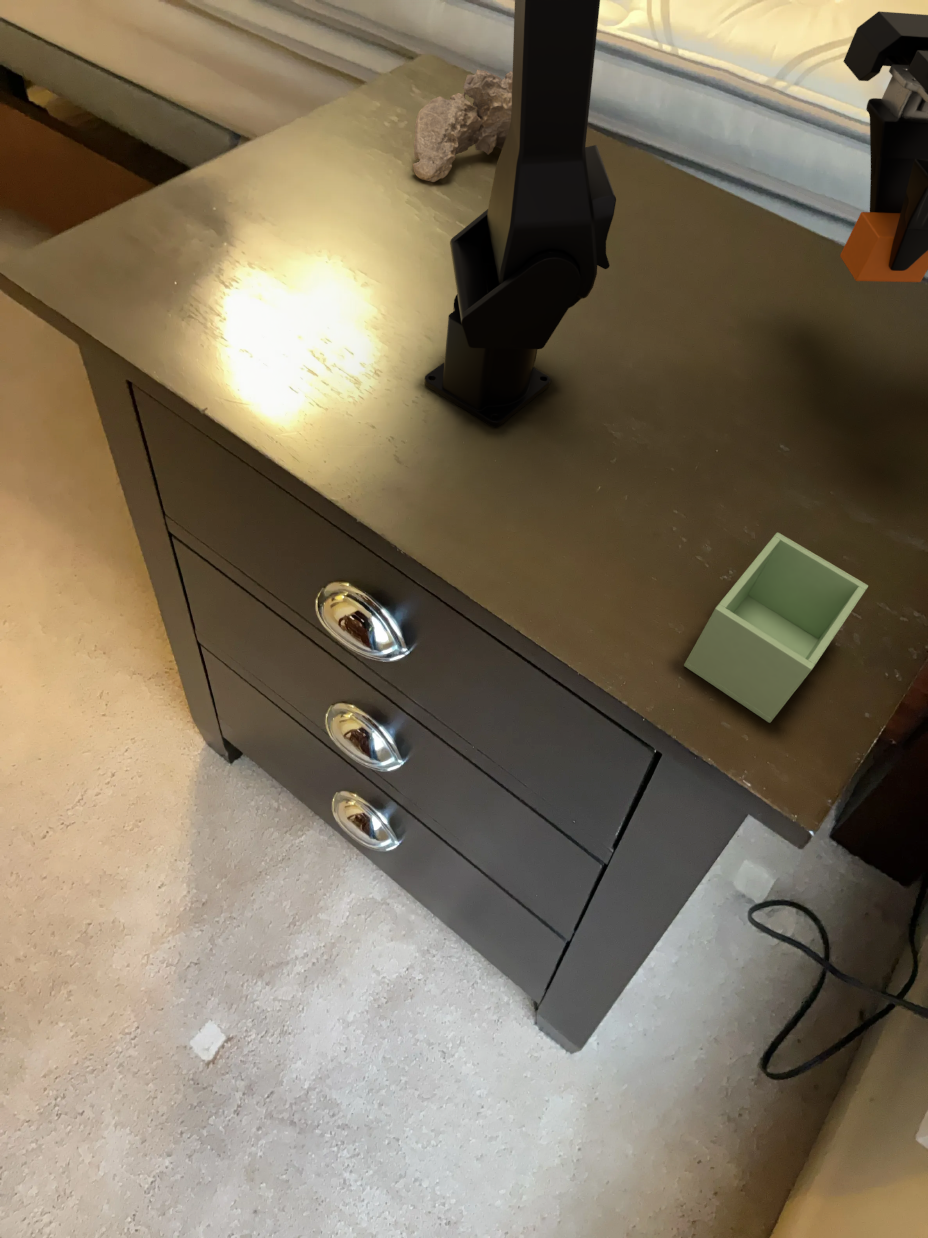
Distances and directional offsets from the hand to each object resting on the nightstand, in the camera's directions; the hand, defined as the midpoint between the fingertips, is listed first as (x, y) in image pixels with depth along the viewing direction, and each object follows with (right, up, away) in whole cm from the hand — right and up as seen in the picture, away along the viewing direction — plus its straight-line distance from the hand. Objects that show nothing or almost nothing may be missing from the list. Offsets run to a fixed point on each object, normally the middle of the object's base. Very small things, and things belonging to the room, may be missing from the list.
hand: (886, 254), depth 54 cm
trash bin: (-10, -25, -6) cm, 27 cm away
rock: (-25, +18, +23) cm, 39 cm away
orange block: (0, -1, +1) cm, 1 cm away
